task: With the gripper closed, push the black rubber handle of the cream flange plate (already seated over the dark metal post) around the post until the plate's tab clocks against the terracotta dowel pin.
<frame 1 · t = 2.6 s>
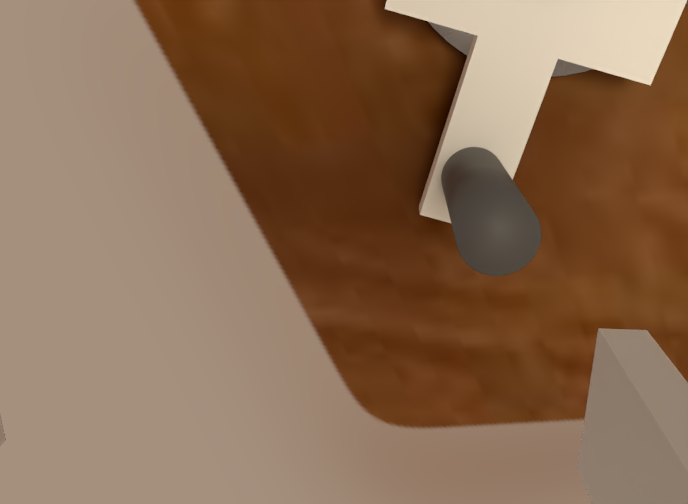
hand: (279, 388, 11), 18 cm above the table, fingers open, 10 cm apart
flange: (551, 3, 20), point 5 cm above the table, hinge at 0.0°
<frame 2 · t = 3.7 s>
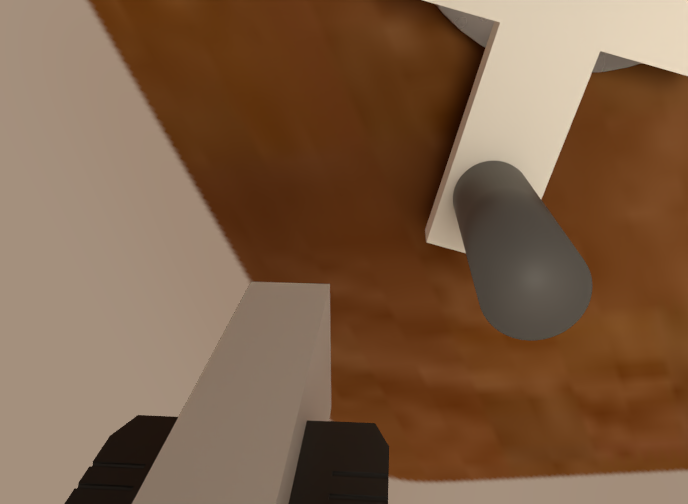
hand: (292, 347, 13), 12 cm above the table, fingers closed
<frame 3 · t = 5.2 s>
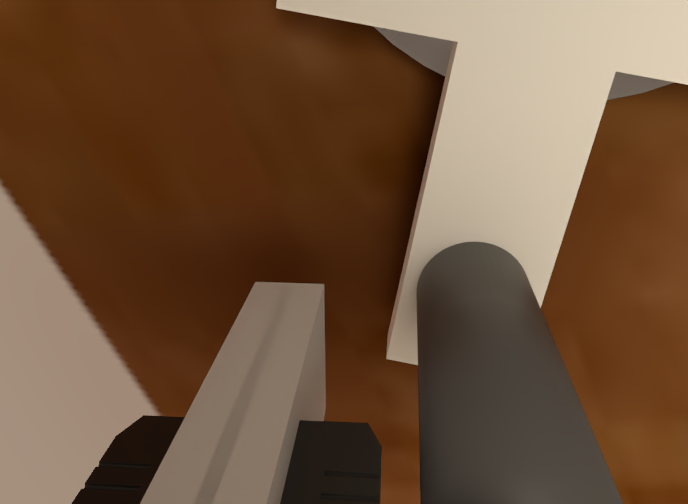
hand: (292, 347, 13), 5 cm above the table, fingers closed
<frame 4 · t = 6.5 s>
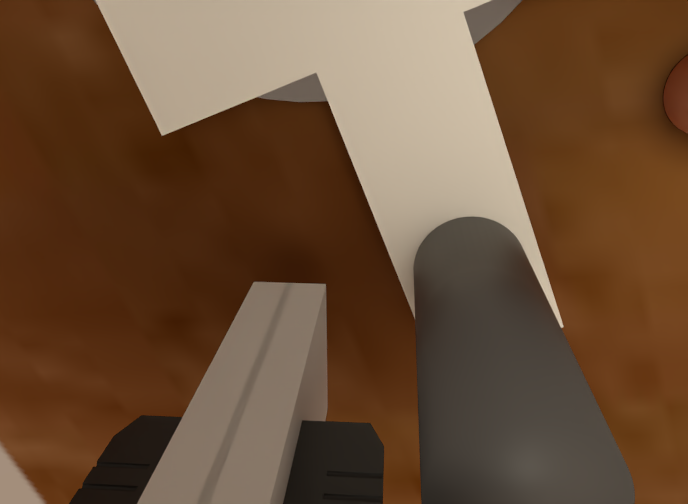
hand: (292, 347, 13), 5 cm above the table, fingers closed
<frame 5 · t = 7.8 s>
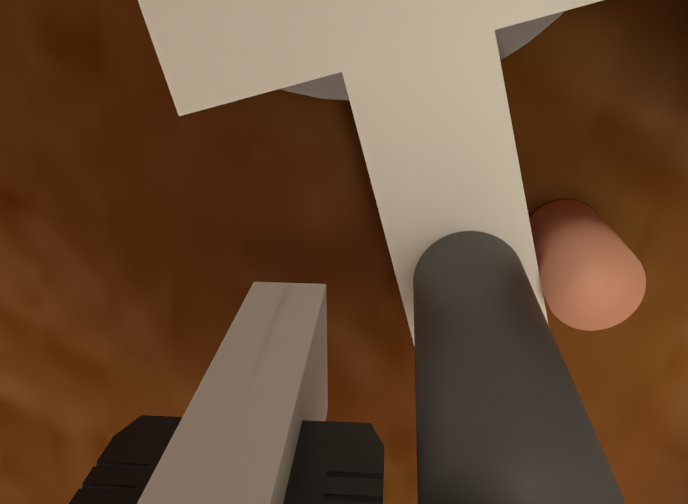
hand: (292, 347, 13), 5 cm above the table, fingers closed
dowel: (563, 237, 16), on the table
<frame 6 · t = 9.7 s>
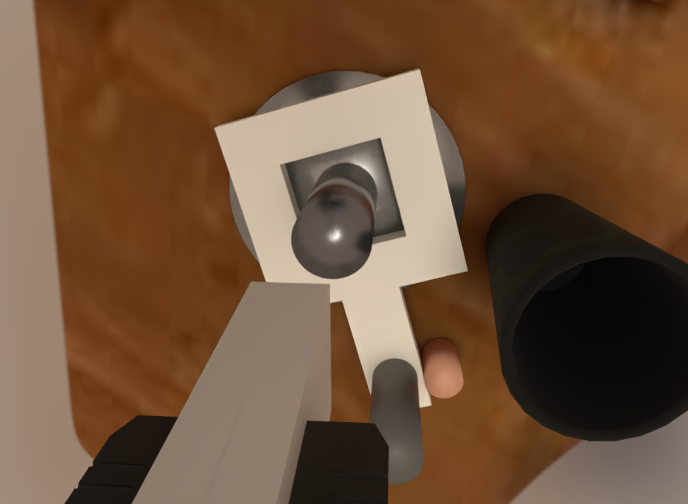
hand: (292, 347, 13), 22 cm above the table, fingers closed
dowel: (440, 354, 37), on the table
cup: (538, 244, 34), on the table
base: (347, 189, 34), on the table
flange: (359, 287, 30), point 5 cm above the table, hinge at 59.8°, touching dowel
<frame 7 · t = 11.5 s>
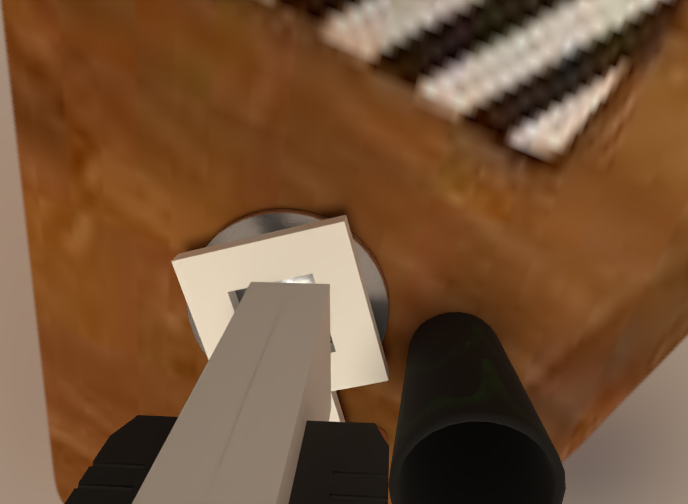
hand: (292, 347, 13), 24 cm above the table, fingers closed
cup: (453, 351, 40), on the table
base: (289, 303, 39), on the table
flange: (291, 402, 35), point 5 cm above the table, hinge at 59.8°, touching dowel
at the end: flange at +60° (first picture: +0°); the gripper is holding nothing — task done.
